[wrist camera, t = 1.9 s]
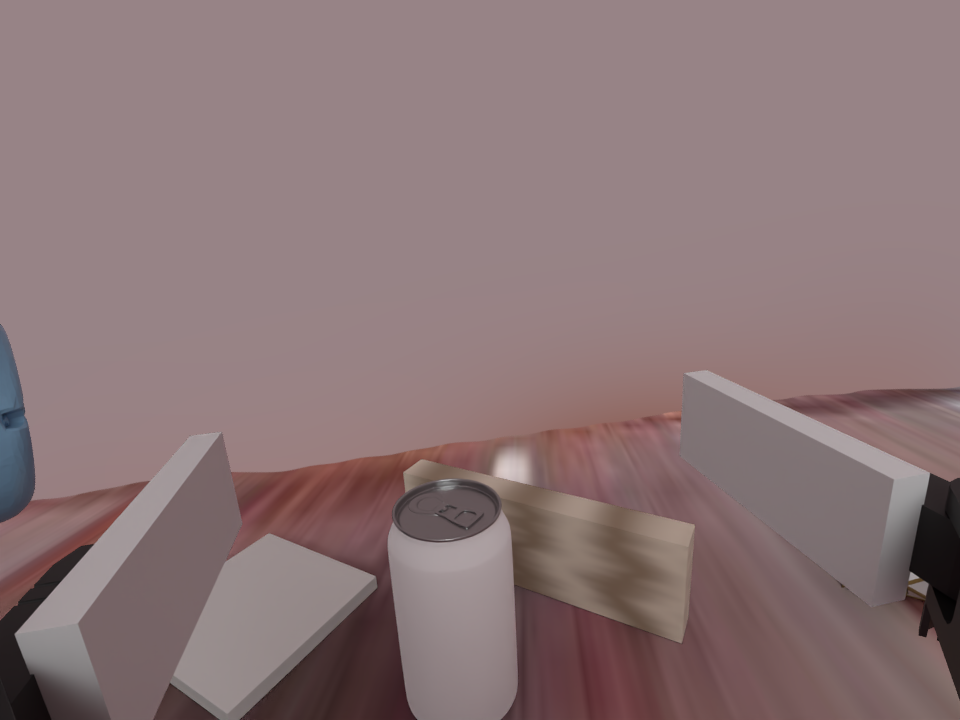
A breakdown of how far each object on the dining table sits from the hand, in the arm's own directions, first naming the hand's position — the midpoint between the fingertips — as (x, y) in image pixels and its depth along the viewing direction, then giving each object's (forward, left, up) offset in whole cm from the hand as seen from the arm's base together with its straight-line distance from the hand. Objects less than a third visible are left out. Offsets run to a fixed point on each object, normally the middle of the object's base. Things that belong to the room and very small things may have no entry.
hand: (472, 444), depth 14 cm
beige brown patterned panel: (-7, +17, -20) cm, 27 cm away
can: (-7, +7, -20) cm, 23 cm away
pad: (-23, +5, -20) cm, 31 cm away
